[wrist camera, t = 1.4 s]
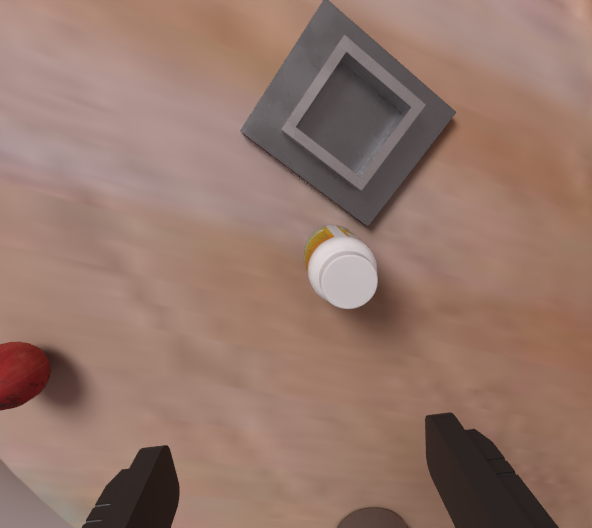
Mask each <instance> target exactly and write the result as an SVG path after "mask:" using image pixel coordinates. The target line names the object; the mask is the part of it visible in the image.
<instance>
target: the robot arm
mask: <svg viewBox="0 0 592 528" xmlns="http://www.w3.org/2000/svg"><path fill="white" fill-rule="evenodd" d="M425 431H426V459H427V464H428V468H429V472H430V475H431V477H432V480H433V482H434V484H435V486H436V488H437V490H438V492H439V494H440V496H441V498H442V500H443V503H444V505H445V507H446V509H447V511H448V513H449V515H450V517H451V519H452V521H453V523H454V525H455V528H559V527H558V526H557V525H556V524H555V522H554V521H553V520H552V518H551V517H550V516H549V514H548V513H547V512H546V511H545V509H544V508H543V507H542V505H541V504H540V503H539V502H538V500H537V499H536V498H535V496H534V495H533V494H532V493H531V491H530V490H529V489H528V487H527V486H526V485H525V483H524V482H523V481H522V480H521V478H520V477H519V476H518V475H516V473H515V471H514V469H513V468H512V467H511V465H510V464H509V463H508V462H507V461H505V458H504V456H503V455H502V454H501V452H500V451H499V450H498V449H497V447H496V446H495V445H494V443H493V442H492V441H491V440H489V439H488V438H486V437H485V436H484V435H482V434H481V433H480V432H478V431H477V430H475V429H470V430H465V429H464V428H463V426H462V425H461V424H460V422H459V421H458V419H457V418H456V417H455V415H454V414H453V413H442V414H433V415H427V416H426V418H425ZM178 502H179V482H178V478H177V474H176V470H175V467H174V463H173V459H172V455H171V451H170V448H169V447H168V446H167V445H164V446H155V447H147V448H142V449H140V450H139V452H138V453H137V455H136V457H135V459H134V461H133V463H132V464H131V466H130V468H129V469H122V470H121V471H120V472H119V473H118V474H117V475H116V476H115V477H114V478H113V479H112V480H111V481H110V482H109V483H108V485H107V486H106V487H105V489H104V490H103V492H102V494H101V496H100V497H99V499H98V501H97V502H96V504H95V508H93V509H92V511H91V513H90V514H89V516H88V518H87V519H86V524H84V525H83V526H82V528H171V525H172V522H173V519H174V516H175V513H176V510H177V507H178ZM337 528H407V527H406V524H405V523H404V521H403V520H402V519H401V518H400V517H399V516H398V515H397V514H395V513H393V512H392V511H389V510H386V509H380V508H368V509H362V510H359V511H356V512H354V513H352V514H350V515H349V516H347V517H346V518H345V519H343V520H342V521H341V523H340V524H339V525H338V527H337Z"/></svg>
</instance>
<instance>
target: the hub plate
mask: <svg viewBox="0 0 592 528" xmlns="http://www.w3.org/2000/svg"><path fill="white" fill-rule="evenodd" d="M455 113H456V111H454V110H453V109H452V108H451V107H450V106H449V105H448V104H446V103H445V102H444V101H443V100H442V99H441V98H440V97H438V96H437V95H436V94H435V93H434V92H433V91H432V90H430V89H429V88H428V87H427V86H426V85H425V84H424V83H422V82H421V81H420V80H419V79H418V78H417V77H416V76H414V75H413V74H412V73H411V72H410V71H409V70H408V69H406V68H405V67H404V66H403V65H402V64H401V63H400V62H398V61H397V60H396V59H395V58H394V57H393V56H392V55H390V54H389V53H388V52H387V51H386V50H385V49H383V48H382V47H381V46H380V45H379V44H378V43H377V42H375V41H374V40H373V39H372V38H371V37H370V36H369V35H367V34H366V33H365V32H364V31H363V30H362V29H361V28H359V27H358V26H357V25H356V24H355V23H354V22H353V21H351V20H350V19H349V18H348V17H347V16H346V15H345V14H343V13H342V12H341V11H340V10H339V9H338V8H337V7H335V6H334V5H333V4H332V3H331V2H330V1H329V0H323V2H322V3H321V5H320V6H319V8H318V10H317V11H316V13H315V14H314V16H313V17H312V19H311V21H310V22H309V24H308V25H307V27H306V28H305V30H304V31H303V33H302V35H301V36H300V38H299V39H298V41H297V42H296V44H295V46H294V47H293V49H292V50H291V52H290V53H289V55H288V57H287V58H286V60H285V61H284V63H283V64H282V66H281V68H280V69H279V71H278V72H277V74H276V75H275V77H274V78H273V80H272V82H271V83H270V85H269V86H268V88H267V89H266V91H265V93H264V94H263V96H262V97H261V99H260V100H259V102H258V104H257V105H256V107H255V108H254V110H253V111H252V113H251V115H250V116H249V118H248V119H247V121H246V122H245V124H244V125H243V127H242V129H241V130H240V131H241V132H242V133H243V134H244V135H245V136H247V137H248V138H249V139H251V140H252V141H253V142H255V143H256V144H257V145H259V146H260V147H261V148H263V149H264V150H266V151H267V152H268V153H270V154H271V155H272V156H274V157H275V158H276V159H278V160H279V161H280V162H282V163H283V164H284V165H286V166H287V167H288V168H290V169H291V170H292V171H294V172H295V173H296V174H298V175H299V176H300V177H302V178H303V179H304V180H306V181H307V182H308V183H310V184H311V185H312V186H314V187H315V188H316V189H318V190H319V191H320V192H322V193H323V194H324V195H326V196H327V197H328V198H330V199H331V200H332V201H334V202H335V203H336V204H338V205H339V206H340V207H342V208H343V209H344V210H346V211H347V212H348V213H350V214H351V215H352V216H354V217H355V218H356V219H358V220H359V221H361V222H362V223H363V224H365V225H366V226H369V225H370V224H371V222H372V221H373V220H374V218H375V217H376V216H377V214H378V213H379V212H380V211H381V209H382V208H383V207H384V205H385V204H386V203H387V201H388V200H389V199H390V198H391V196H392V195H393V194H394V192H395V191H396V190H397V189H398V187H399V186H400V185H401V183H402V182H403V181H404V179H405V178H406V177H407V176H408V174H409V173H410V172H411V170H412V169H413V168H414V167H415V165H416V164H417V163H418V161H419V160H420V159H421V157H422V156H423V155H424V154H425V152H426V151H427V150H428V148H429V147H430V146H431V145H432V143H433V142H434V141H435V139H436V138H437V137H438V135H439V134H440V133H441V132H442V130H443V129H444V128H445V126H446V125H447V124H448V122H449V121H450V120H451V119H452V117H453V116H454V115H455Z"/></svg>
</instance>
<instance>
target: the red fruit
mask: <svg viewBox="0 0 592 528" xmlns="http://www.w3.org/2000/svg"><path fill="white" fill-rule="evenodd" d="M50 372H51V371H50V362H49V360H48V358H47V356H46V355H45V353H44V352H43V351H42V350H41V349H39V348H38V347H36V346H34V345H31V344H29V343H23V342H9V343H5V344H0V410H5V409H11V408H15V407H18V406H21V405H23V404H24V403H26V402H28V401H29V400H31V399H32V398H34V397H35V396H36V395H38V394H39V393H40V392H41V391H42V390H43V389H44V388H45V386H46V384H47V382H48V380H49V377H50Z"/></svg>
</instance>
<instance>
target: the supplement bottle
mask: <svg viewBox="0 0 592 528" xmlns="http://www.w3.org/2000/svg"><path fill="white" fill-rule="evenodd" d="M304 259H305V264H306V268H307V272H308V277H309V280H310V283H311V285H312V287H313V289H314V290H315V292H316V293H317V294H318V295H319V296H320V297H322V298H323V299H325V300H327V301H329V302H330V303H331V304H333V305H334V306H336V307H339V308H343V309H353V308H357V307H360V306H362V305H364V304H365V303H367V302H368V301H369V300H370V299H371V298H372V297H373V295H374V293H375V291H376V288H377V284H378V277H377V263H376V259H375V257H374V255H373V253H372V251H371V250H370V249H369V247H368V246H367V245H366V244H365V243H363V242H362V241H361V240H360V239H359V238H357V237H356V236H355V235H354V234H353V233H352V232H350V231H349V230H347V229H345V228H343V227H340V226H334V225H330V226H325V227H322V228H320V229H318V230H316V231H315V232H314V233H313V234H312V235H311V236H310V237H309V239H308V240H307V242H306V245H305V249H304Z"/></svg>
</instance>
